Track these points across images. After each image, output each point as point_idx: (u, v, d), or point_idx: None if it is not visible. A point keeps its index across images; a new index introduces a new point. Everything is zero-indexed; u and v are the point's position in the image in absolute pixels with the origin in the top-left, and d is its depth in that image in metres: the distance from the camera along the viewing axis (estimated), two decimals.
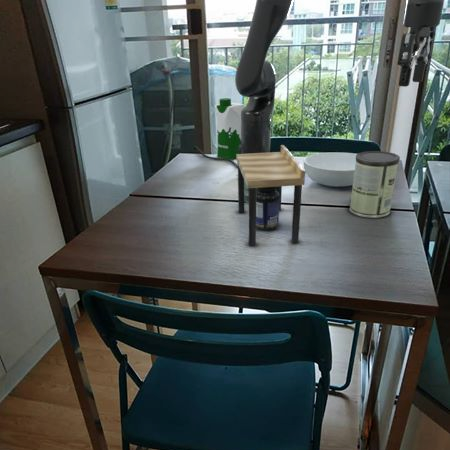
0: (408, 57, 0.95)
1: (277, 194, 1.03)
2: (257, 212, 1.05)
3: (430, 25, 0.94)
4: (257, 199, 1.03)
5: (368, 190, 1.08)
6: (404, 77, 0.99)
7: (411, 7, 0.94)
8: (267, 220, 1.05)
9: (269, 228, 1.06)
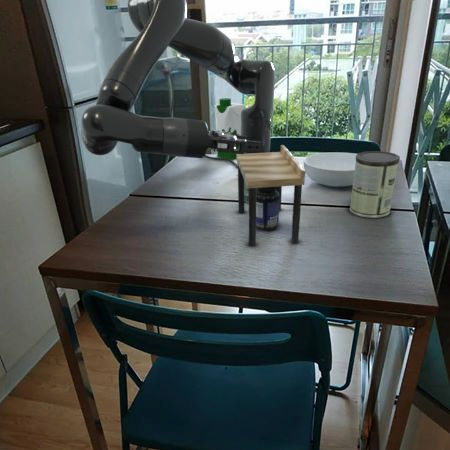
0: None
1: (277, 194, 1.03)
2: (257, 212, 1.05)
3: None
4: (257, 199, 1.03)
5: (368, 190, 1.08)
6: None
7: None
8: (267, 220, 1.05)
9: (269, 228, 1.06)
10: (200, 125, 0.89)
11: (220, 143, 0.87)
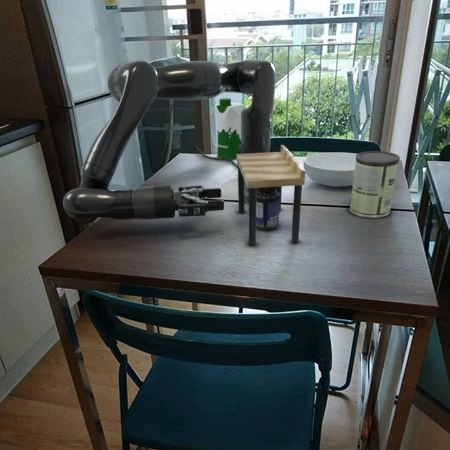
0: None
1: (277, 194, 1.03)
2: (257, 212, 1.05)
3: None
4: (257, 199, 1.03)
5: (368, 190, 1.08)
6: None
7: None
8: (267, 220, 1.05)
9: (269, 228, 1.06)
10: (165, 192, 1.00)
11: (180, 209, 0.97)
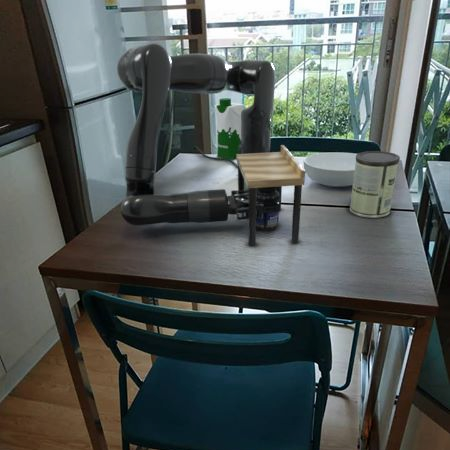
0: None
1: (277, 194, 1.03)
2: None
3: None
4: (257, 199, 1.03)
5: (368, 190, 1.08)
6: None
7: None
8: (267, 220, 1.05)
9: (269, 228, 1.06)
10: (220, 196, 1.01)
11: (239, 213, 0.99)
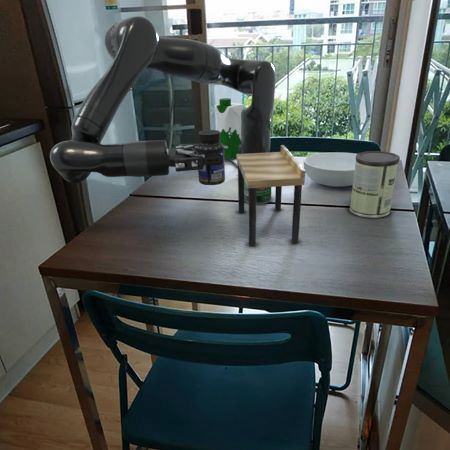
0: None
1: (221, 145, 0.96)
2: None
3: None
4: (199, 150, 0.96)
5: (368, 190, 1.08)
6: None
7: None
8: (211, 173, 0.98)
9: (213, 183, 0.99)
10: (158, 146, 0.94)
11: (177, 163, 0.92)
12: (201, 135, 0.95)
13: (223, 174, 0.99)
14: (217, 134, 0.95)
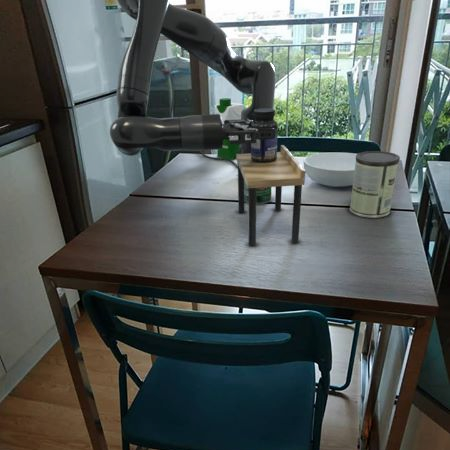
0: None
1: (275, 123, 0.99)
2: (254, 143, 1.00)
3: None
4: None
5: (368, 190, 1.08)
6: None
7: None
8: (265, 151, 1.00)
9: (267, 160, 1.02)
10: (214, 119, 0.97)
11: (231, 136, 0.94)
12: (257, 113, 0.97)
13: (276, 152, 1.02)
14: (272, 112, 0.97)
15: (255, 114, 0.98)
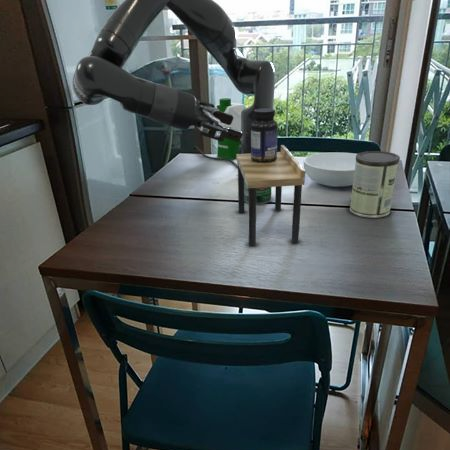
0: None
1: (275, 123, 0.99)
2: (254, 143, 1.00)
3: None
4: (254, 128, 0.99)
5: (368, 190, 1.08)
6: None
7: None
8: (265, 151, 1.00)
9: (267, 160, 1.02)
10: (190, 102, 0.93)
11: (203, 127, 0.93)
12: (257, 113, 0.97)
13: (276, 152, 1.02)
14: (272, 112, 0.97)
15: (255, 114, 0.98)
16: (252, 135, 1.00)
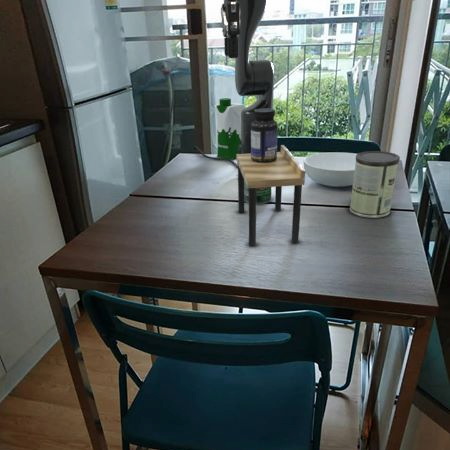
0: None
1: (275, 123, 0.99)
2: (254, 143, 1.00)
3: None
4: (254, 128, 0.99)
5: (368, 190, 1.08)
6: None
7: None
8: (265, 151, 1.00)
9: (267, 160, 1.02)
10: None
11: (235, 3, 0.90)
12: (257, 113, 0.97)
13: (276, 152, 1.02)
14: (272, 112, 0.97)
15: (255, 114, 0.98)
16: (252, 135, 1.00)
